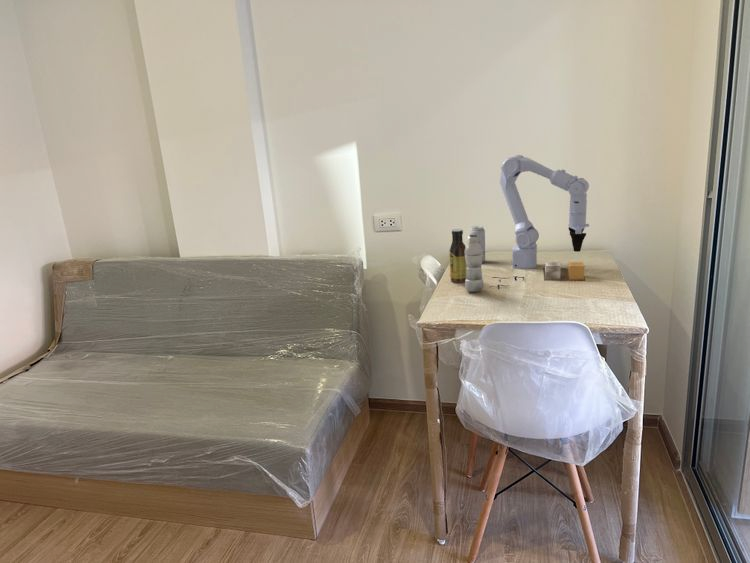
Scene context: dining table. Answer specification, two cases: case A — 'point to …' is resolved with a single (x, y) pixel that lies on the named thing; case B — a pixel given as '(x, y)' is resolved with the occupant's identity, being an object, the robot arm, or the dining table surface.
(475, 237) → the plastic bottle
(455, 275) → the sauce bottle
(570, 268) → the kraft paper cube
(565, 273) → the board
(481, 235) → the energy drink can
